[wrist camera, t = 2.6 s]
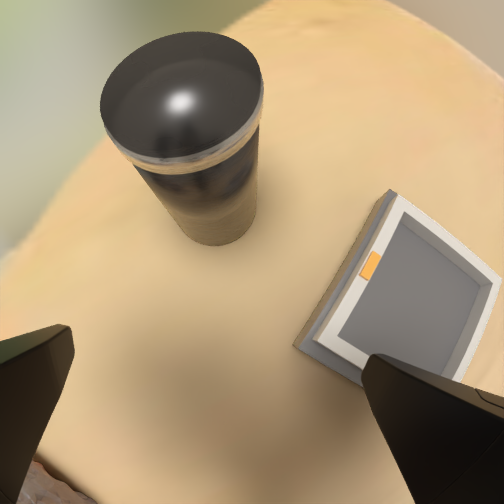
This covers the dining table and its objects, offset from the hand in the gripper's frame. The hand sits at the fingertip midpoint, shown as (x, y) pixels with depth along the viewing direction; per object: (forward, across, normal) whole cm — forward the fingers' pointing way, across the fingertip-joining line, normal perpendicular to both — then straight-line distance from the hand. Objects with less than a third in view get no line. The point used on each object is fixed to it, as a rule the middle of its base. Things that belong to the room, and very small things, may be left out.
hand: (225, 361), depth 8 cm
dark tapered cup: (+15, 0, +1) cm, 15 cm away
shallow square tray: (+10, +13, -3) cm, 17 cm away
